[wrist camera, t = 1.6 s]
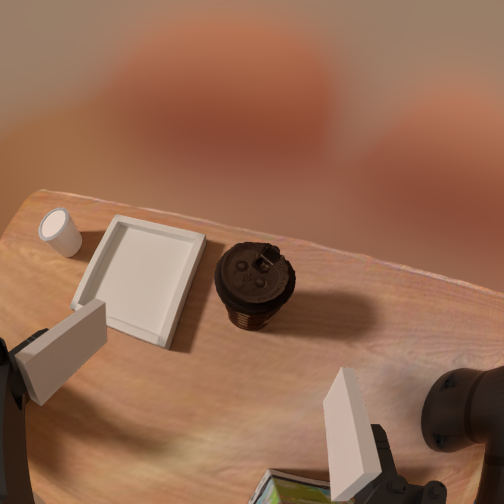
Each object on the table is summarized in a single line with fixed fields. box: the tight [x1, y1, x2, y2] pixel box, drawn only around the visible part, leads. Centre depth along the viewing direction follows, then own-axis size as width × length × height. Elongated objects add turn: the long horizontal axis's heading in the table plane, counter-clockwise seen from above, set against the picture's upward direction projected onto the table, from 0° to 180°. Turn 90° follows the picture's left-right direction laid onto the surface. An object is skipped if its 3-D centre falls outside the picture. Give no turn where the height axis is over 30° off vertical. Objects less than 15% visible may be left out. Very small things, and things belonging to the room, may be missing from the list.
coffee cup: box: [214, 242, 296, 331], centre depth 33 cm, size 9×8×13 cm
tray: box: [70, 214, 207, 350], centre depth 39 cm, size 17×18×2 cm
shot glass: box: [39, 207, 82, 258], centre depth 39 cm, size 7×7×7 cm
